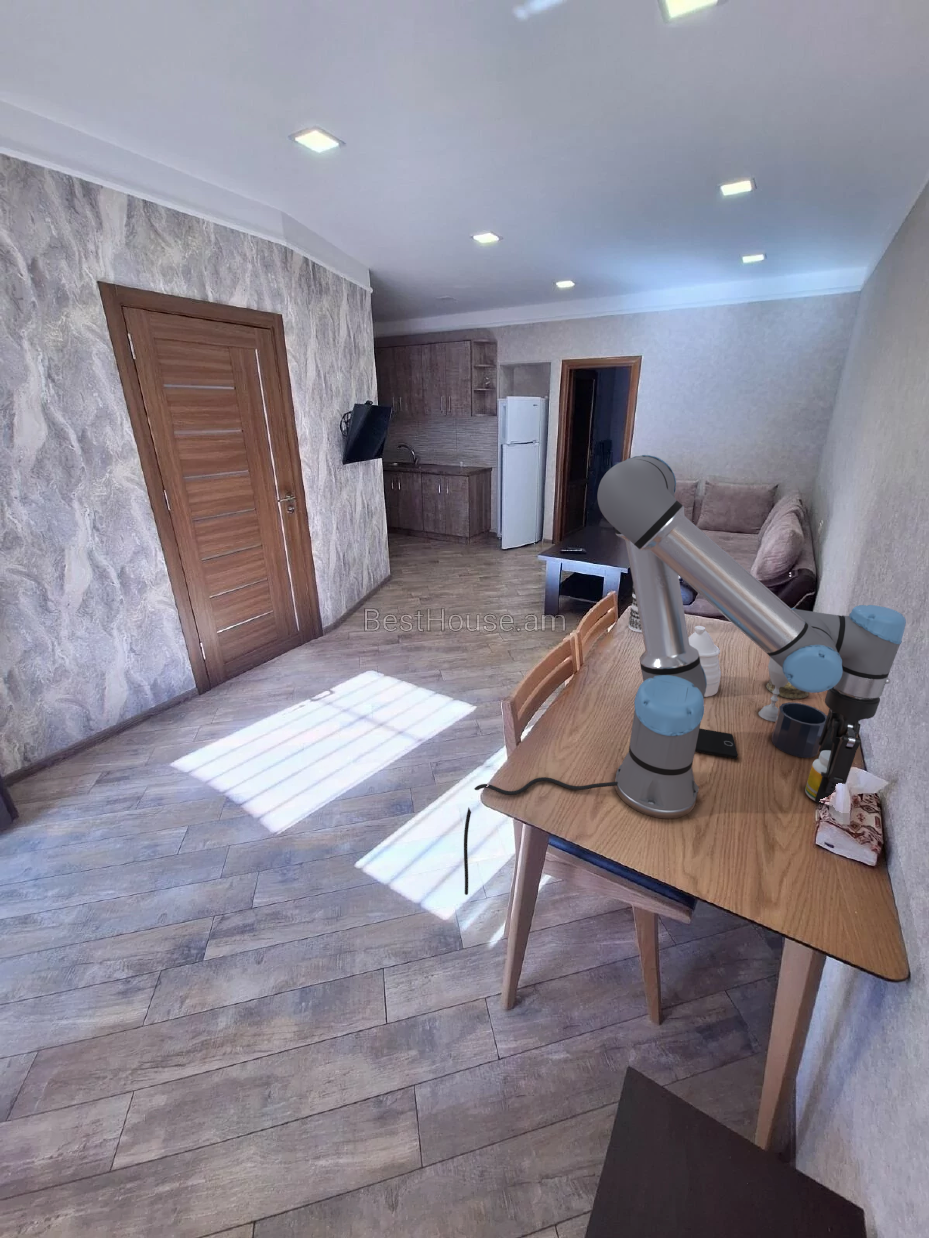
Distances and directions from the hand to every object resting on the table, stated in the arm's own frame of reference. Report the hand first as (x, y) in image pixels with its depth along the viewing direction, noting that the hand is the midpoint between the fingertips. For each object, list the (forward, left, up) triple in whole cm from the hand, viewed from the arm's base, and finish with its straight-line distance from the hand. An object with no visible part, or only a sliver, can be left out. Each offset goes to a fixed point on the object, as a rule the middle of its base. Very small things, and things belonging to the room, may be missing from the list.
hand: (821, 792), depth 99 cm
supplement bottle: (0, 0, -1) cm, 1 cm away
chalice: (+15, +25, -1) cm, 29 cm away
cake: (+30, +33, -1) cm, 45 cm away
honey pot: (+8, +44, -1) cm, 45 cm away
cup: (+10, +14, -1) cm, 17 cm away
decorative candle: (+20, +83, -1) cm, 85 cm away
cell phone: (-11, +23, -1) cm, 25 cm away
